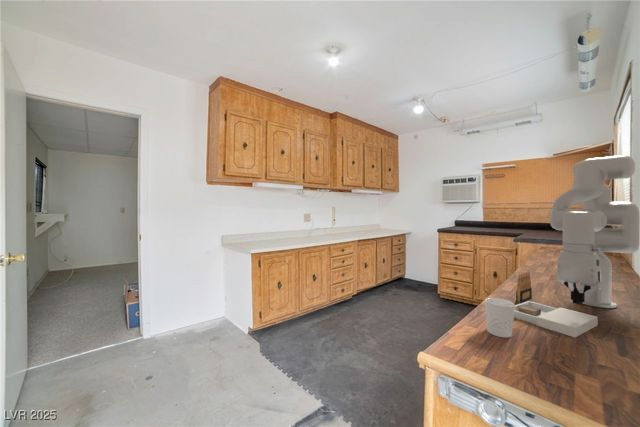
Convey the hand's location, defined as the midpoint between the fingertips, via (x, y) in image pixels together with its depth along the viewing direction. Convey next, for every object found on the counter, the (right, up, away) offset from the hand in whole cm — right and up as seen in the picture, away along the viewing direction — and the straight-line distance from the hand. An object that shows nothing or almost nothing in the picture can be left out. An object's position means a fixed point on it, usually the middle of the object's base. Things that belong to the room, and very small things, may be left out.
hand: (577, 303), depth 90 cm
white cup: (-28, -9, -4) cm, 30 cm away
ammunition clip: (+3, -8, +27) cm, 28 cm away
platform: (-2, -8, +2) cm, 9 cm away
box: (-7, -8, +11) cm, 15 cm away
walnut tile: (-7, -6, +11) cm, 14 cm away
